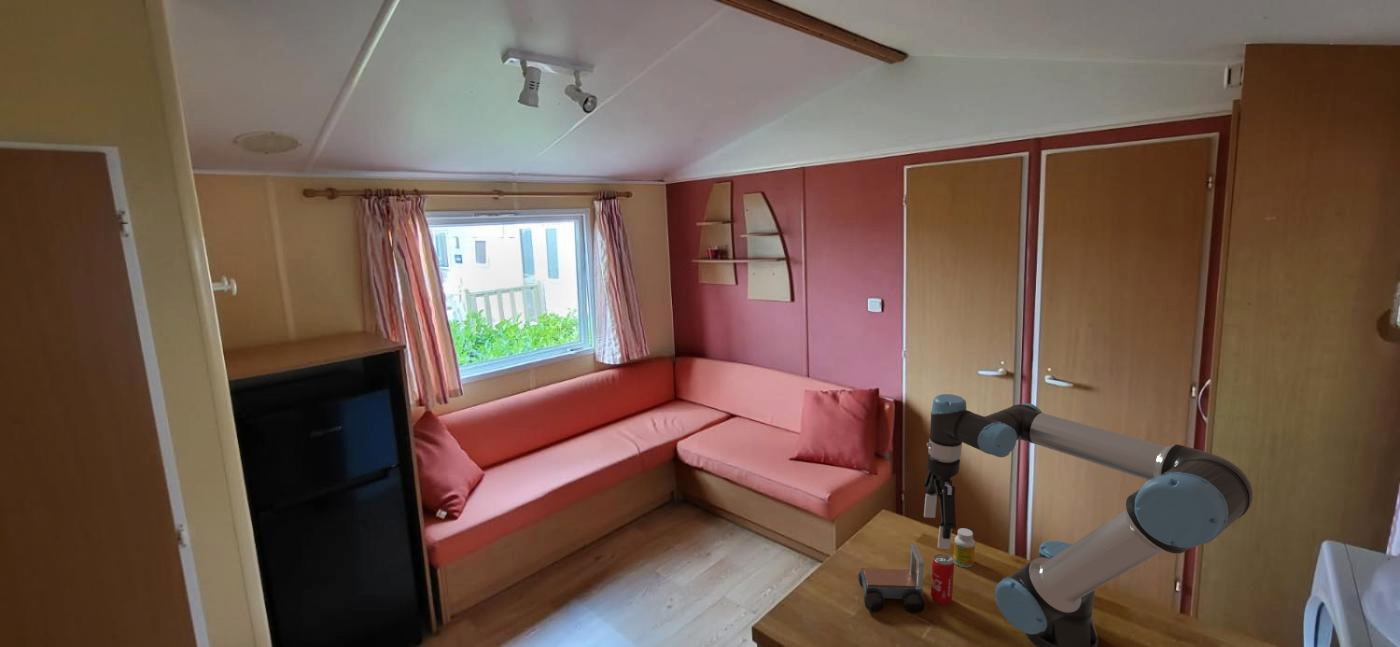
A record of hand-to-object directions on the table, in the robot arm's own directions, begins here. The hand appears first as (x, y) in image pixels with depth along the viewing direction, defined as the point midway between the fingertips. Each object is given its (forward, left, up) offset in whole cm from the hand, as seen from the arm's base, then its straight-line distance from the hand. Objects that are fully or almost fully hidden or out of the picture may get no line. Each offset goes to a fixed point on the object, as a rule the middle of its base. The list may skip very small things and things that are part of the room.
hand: (936, 531), depth 155 cm
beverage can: (-2, 0, -20) cm, 20 cm away
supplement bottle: (-13, -17, -20) cm, 29 cm away
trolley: (+11, 0, -20) cm, 22 cm away
